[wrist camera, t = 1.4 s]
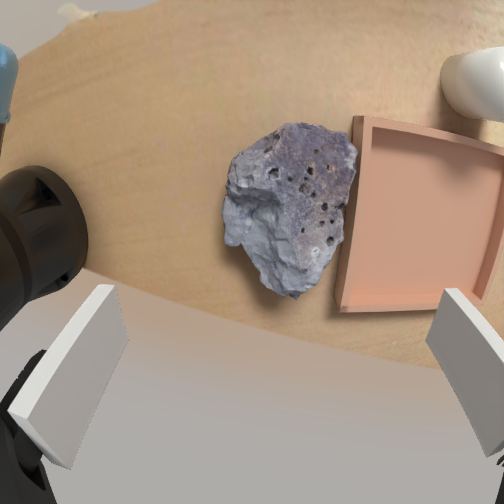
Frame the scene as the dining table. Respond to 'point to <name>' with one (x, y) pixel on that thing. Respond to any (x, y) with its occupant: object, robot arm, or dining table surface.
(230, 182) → the rock
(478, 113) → the white rounded cylinder
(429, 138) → the dish
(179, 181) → the dining table surface
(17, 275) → the robot arm
